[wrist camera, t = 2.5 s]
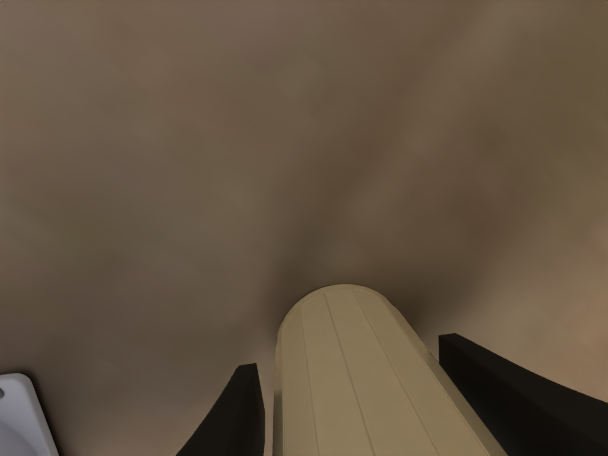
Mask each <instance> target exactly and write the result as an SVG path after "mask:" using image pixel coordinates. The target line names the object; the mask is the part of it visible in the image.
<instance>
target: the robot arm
mask: <svg viewBox="0 0 608 456" xmlns="http://www.w3.org/2000/svg"><path fill="white" fill-rule="evenodd" d="M439 365H440V366H441V367H442V369H443V370H444V371H445V373H446V374H447V375H448V376H449V378H450V379H451V380H452V382H453V383H454V384H455V386H456V387H457V388H458V390H459V391H460V392H461V394H462V395H463V396H464V398H465V399H466V400H467V402H468V403H469V404H470V406H471V407H472V408H473V410H474V411H475V412H476V414H477V415H478V416H479V418H480V419H481V420H482V422H483V423H484V424H485V426H486V427H487V428H488V430H489V431H490V432H491V434H492V435H493V436H494V438H495V439H496V440H497V441H498V443H499V444H500V445H501V447H502V448H503V449H504V451H505V452H506V453H507V455H508V456H608V403H606V402H604V401H601V400H598V399H595V398H592V397H590V396H587V395H585V394H582V393H580V392H577V391H575V390H572V389H570V388H567V387H565V386H562V385H560V384H557V383H555V382H553V381H551V380H548V379H546V378H544V377H542V376H540V375H537V374H535V373H533V372H531V371H529V370H527V369H525V368H523V367H521V366H519V365H517V364H515V363H513V362H511V361H509V360H507V359H505V358H503V357H501V356H499V355H497V354H495V353H493V352H491V351H489V350H487V349H486V348H484V347H482V346H480V345H478V344H476V343H474V342H472V341H470V340H468V339H466V338H464V337H462V336H460V335H458V334H456V333H452V334H446V335H439ZM0 388H1V389H2V390H1V389H0V456H59V454H58V452H57V449H56V446H55V444H54V441H53V438H52V436H51V433H50V430H49V427H48V425H47V422H46V419H45V417H44V414H43V411H42V409H41V406H40V403H39V401H38V398H37V395H36V393H35V390H34V387H33V385H32V382H31V380H30V379H29V378H28V377H27V376H26V375H23V374H20V373H12V374H5V375H0ZM264 444H265V409H264V404H263V398H262V392H261V387H260V381H259V375H258V370H257V364H256V363H253V364H246V365H240V366H238V368H237V369H236V370H235V372H234V374H233V376H232V377H231V379H230V381H229V382H228V384H227V386H226V387H225V389H224V390H223V392H222V394H221V395H220V397H219V398H218V400H217V401H216V403H215V404H214V406H213V407H212V409H211V410H210V412H209V413H208V415H207V416H206V417H205V419H204V420H203V421H202V423H201V424H200V425H199V427H198V428H197V430H196V431H195V432H194V434H193V435H192V436H191V438H190V439H189V440H188V441H187V443H186V444H185V445H184V446H183V448H182V449H181V450H180V451H179V452H178V453H177V455H176V456H263V454H264Z"/></svg>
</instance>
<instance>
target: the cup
mask: <svg viewBox="0 0 608 456" xmlns="http://www.w3.org/2000/svg"><path fill="white" fill-rule="evenodd" d="M272 456H508V455H507V453H506V452H505V451H504V449H503V448H502V447H501V445H500V444H499V443H498V441H497V440H496V439H495V438H494V436H493V435H492V434H491V432H490V431H489V430H488V428H487V427H486V426H485V424H484V423H483V422H482V420H481V419H480V418H479V416H478V415H477V414H476V412H475V411H474V410H473V408H472V407H471V406H470V404H469V403H468V402H467V400H466V399H465V398H464V396H463V395H462V394H461V392H460V391H459V390H458V388H457V387H456V386H455V384H454V383H453V382H452V380H451V379H450V378H449V376H448V375H447V374H446V373H445V371H444V370H443V369H442V367H441V366H440V365H439V363H438V362H437V361H436V359H435V358H434V357H433V355H432V354H431V353H430V351H429V350H428V349H427V347H426V346H425V345H424V343H423V342H422V341H421V339H420V338H419V337H418V335H417V334H416V333H415V331H414V330H413V329H412V327H411V326H410V325H409V323H408V322H407V321H406V319H405V318H404V317H403V315H402V314H401V313H400V312H399V310H398V309H396V308H395V307H394V305H393V304H392V303H391V302H390V301H389V300H388V299H387V298H385V297H384V296H383V295H381V294H380V293H378V292H376V291H374V290H372V289H370V288H367V287H363V286H359V285H353V284H338V285H332V286H327V287H324V288H321V289H318V290H316V291H314V292H312V293H310V294H308V295H307V296H305V297H303V298H302V299H301V300H300V301H298V302H297V303H296V304H295V305H294V306H293V307H292V308H291V309H290V311H289V312H288V313H287V315H286V316H285V318H284V320H283V322H282V323H281V326H280V329H279V331H278V336H277V345H276V350H275V377H274V416H273V455H272Z"/></svg>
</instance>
